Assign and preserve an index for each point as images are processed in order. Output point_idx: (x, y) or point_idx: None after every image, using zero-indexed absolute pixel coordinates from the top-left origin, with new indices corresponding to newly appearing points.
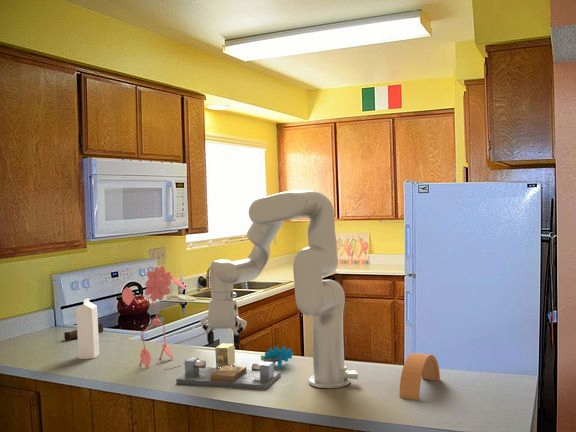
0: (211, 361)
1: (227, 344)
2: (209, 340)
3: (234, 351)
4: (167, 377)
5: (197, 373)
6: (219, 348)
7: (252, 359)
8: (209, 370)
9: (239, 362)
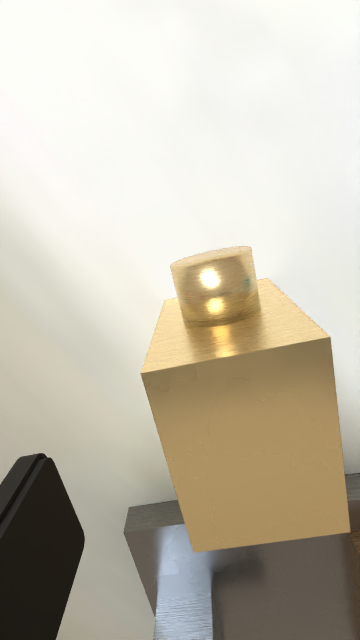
0: (49, 304)
1: (249, 400)
2: (61, 601)
3: (296, 309)
4: (69, 620)
5: (226, 618)
6: (245, 538)
7: (355, 88)
8: (259, 563)
9: (284, 234)
